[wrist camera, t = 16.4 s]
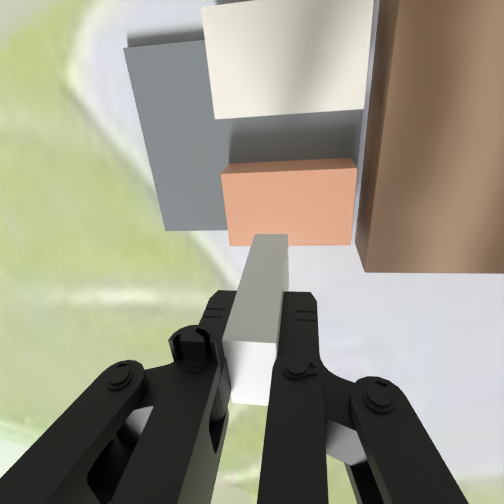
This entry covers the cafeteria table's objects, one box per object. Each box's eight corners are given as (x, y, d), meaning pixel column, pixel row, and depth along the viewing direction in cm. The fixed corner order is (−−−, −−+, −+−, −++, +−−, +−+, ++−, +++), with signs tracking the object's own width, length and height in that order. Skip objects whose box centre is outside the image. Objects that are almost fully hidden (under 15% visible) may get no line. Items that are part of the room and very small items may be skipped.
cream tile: (364, -4, 16) (375, -15, 14) (356, 104, 18) (364, 108, 16) (212, 15, 17) (200, 7, 15) (223, 114, 19) (214, 119, 17)
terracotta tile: (350, 157, 20) (357, 168, 18) (345, 228, 22) (350, 245, 20) (228, 163, 21) (220, 174, 19) (236, 230, 23) (230, 246, 21)
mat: (367, 24, 17) (370, 22, 16) (349, 225, 23) (351, 228, 22) (127, 48, 19) (123, 48, 18) (168, 227, 25) (165, 230, 24)
